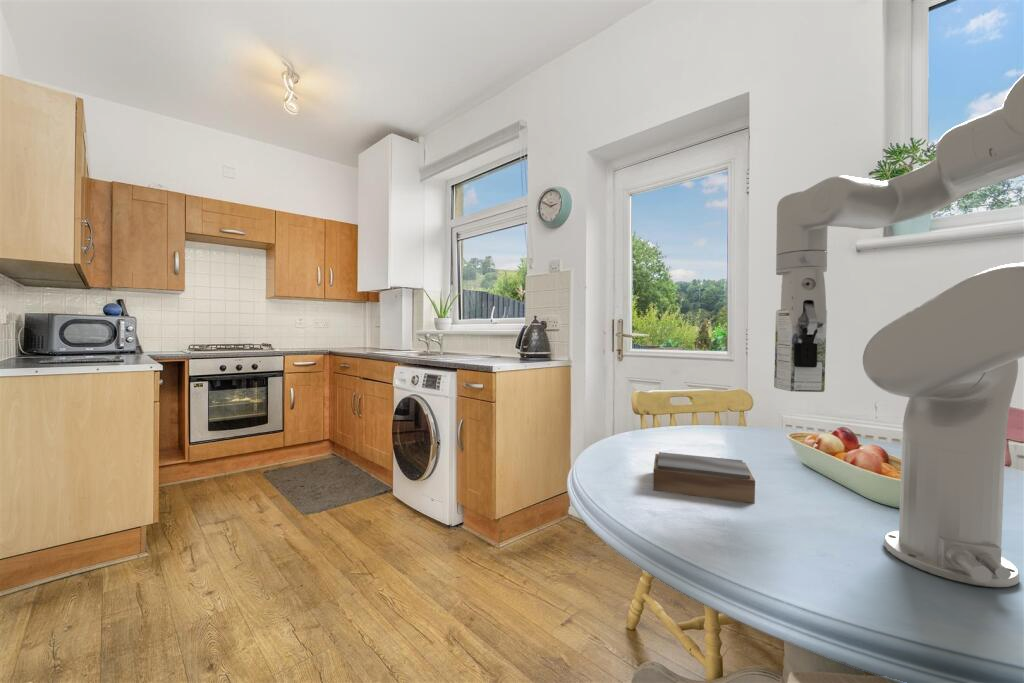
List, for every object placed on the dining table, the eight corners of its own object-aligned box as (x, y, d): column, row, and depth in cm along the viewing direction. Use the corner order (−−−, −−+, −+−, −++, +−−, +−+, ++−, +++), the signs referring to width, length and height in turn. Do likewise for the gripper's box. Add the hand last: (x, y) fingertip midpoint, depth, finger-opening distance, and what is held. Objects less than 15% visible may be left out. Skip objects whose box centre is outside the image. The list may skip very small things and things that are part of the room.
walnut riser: (754, 503, 76) (755, 477, 76) (653, 490, 82) (653, 466, 82) (744, 482, 87) (745, 459, 87) (655, 472, 93) (655, 450, 92)
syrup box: (806, 388, 80) (807, 309, 80) (826, 392, 74) (827, 307, 74) (773, 388, 81) (774, 309, 80) (790, 392, 75) (791, 307, 74)
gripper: (844, 255, 67) (842, 370, 68) (811, 270, 84) (809, 363, 84) (788, 257, 70) (786, 368, 70) (766, 272, 86) (765, 362, 87)
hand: (799, 364), depth 77 cm, fingers closed on syrup box, 6 cm apart
